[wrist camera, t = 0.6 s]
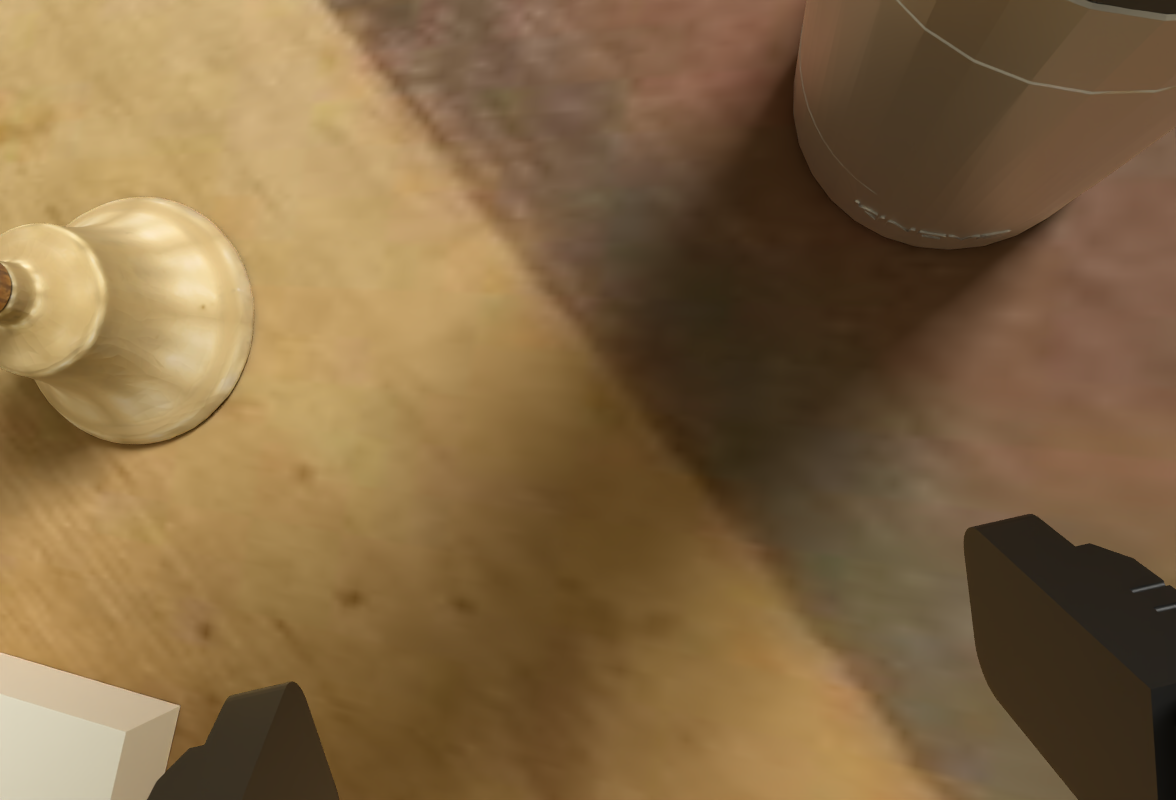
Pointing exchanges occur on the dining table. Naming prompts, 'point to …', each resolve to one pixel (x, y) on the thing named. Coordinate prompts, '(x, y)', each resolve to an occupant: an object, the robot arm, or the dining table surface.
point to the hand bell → (126, 317)
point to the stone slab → (78, 736)
